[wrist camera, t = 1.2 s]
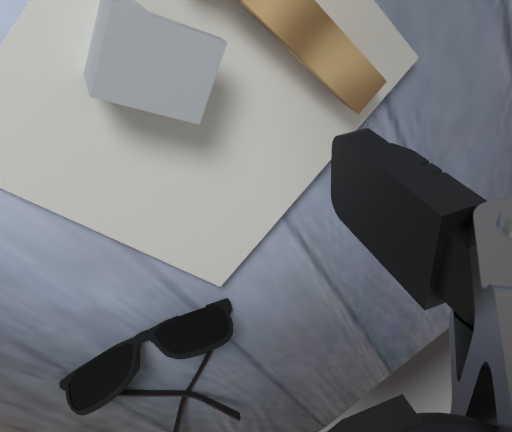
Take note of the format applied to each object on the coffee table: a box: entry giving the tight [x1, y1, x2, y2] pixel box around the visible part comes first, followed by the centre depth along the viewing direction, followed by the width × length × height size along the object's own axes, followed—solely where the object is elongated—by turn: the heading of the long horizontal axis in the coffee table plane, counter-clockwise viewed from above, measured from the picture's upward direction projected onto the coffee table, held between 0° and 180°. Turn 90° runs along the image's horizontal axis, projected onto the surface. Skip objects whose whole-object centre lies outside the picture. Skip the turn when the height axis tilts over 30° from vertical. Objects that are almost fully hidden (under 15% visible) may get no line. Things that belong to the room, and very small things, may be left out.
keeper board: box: [0, 0, 419, 287], centre depth 31 cm, size 25×24×6 cm
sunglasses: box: [60, 298, 240, 432], centre depth 46 cm, size 17×14×5 cm
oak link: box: [237, 0, 387, 115], centre depth 29 cm, size 18×4×3 cm, turn 49°
